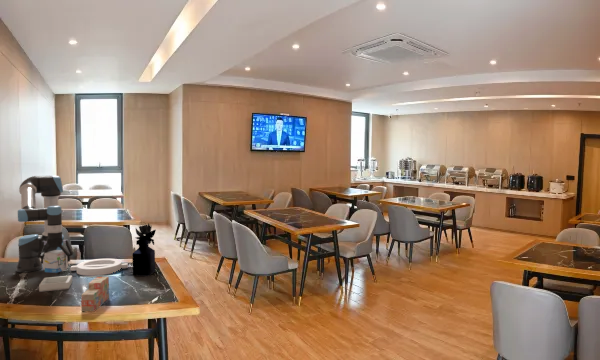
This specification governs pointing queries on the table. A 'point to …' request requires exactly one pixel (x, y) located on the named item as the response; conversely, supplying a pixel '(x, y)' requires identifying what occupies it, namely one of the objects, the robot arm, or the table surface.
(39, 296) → the table surface
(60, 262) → the ink box
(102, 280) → the stack of blocks
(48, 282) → the box
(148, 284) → the table surface
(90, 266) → the ring with crossbar
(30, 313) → the table surface
